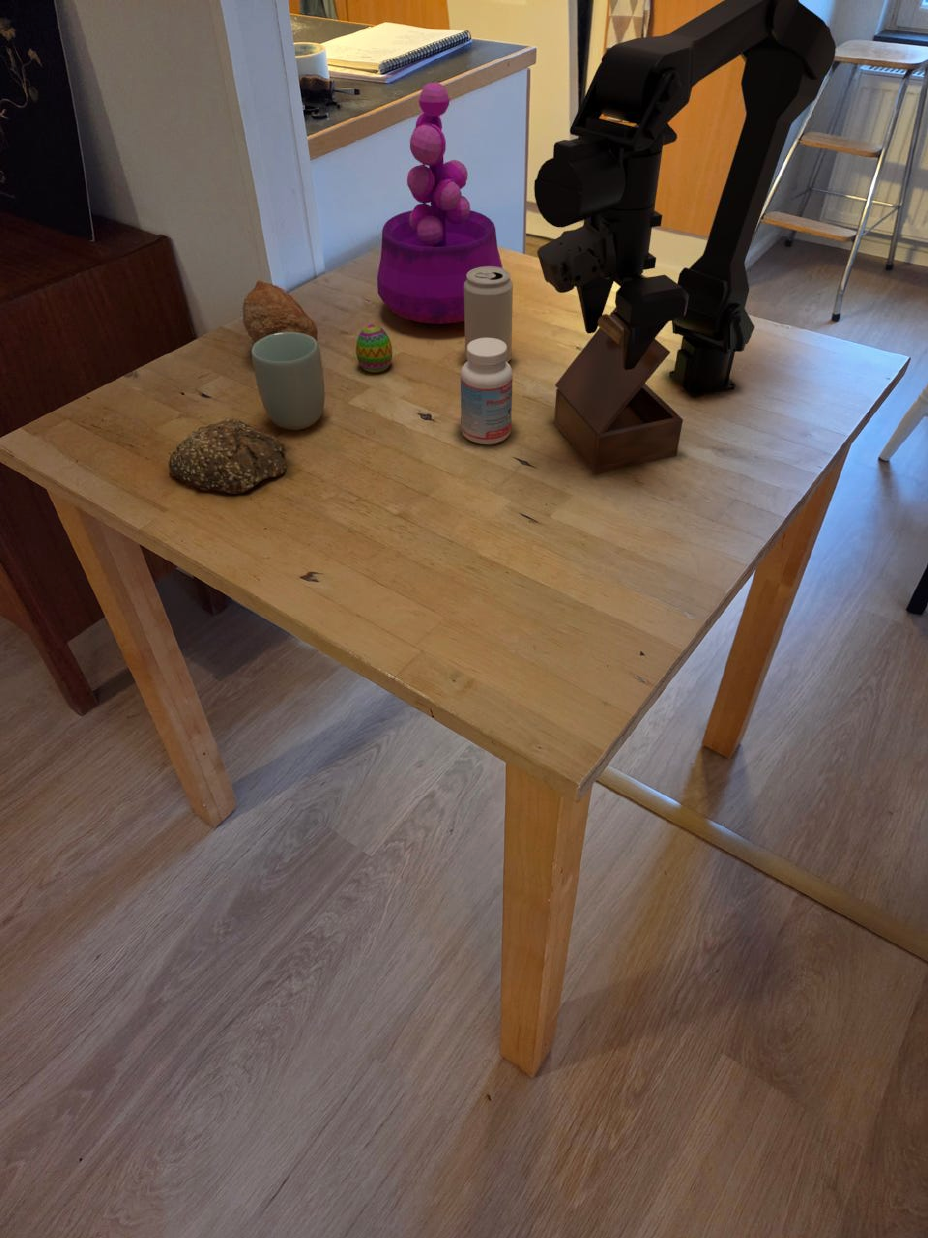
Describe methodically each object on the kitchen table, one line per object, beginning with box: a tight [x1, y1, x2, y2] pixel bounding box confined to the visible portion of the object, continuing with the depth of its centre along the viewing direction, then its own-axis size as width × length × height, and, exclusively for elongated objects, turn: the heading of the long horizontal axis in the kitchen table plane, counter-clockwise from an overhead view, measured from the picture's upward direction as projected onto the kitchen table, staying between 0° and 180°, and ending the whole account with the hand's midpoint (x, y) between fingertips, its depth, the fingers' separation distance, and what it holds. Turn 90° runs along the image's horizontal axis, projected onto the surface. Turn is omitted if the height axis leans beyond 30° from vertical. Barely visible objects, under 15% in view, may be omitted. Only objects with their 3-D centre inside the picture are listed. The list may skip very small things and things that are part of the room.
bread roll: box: [168, 417, 287, 495], centre depth 98 cm, size 13×12×5 cm
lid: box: [554, 306, 671, 436], centre depth 94 cm, size 11×12×4 cm
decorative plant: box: [376, 82, 503, 325], centre depth 118 cm, size 19×18×30 cm
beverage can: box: [463, 266, 514, 363], centre depth 113 cm, size 6×6×12 cm
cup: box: [250, 332, 326, 431], centre depth 103 cm, size 8×8×10 cm
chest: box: [553, 383, 684, 474], centre depth 101 cm, size 11×12×5 cm
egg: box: [355, 323, 393, 374], centre depth 114 cm, size 5×5×6 cm
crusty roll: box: [242, 279, 318, 344], centre depth 115 cm, size 10×13×10 cm
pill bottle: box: [460, 338, 514, 445], centre depth 100 cm, size 6×6×11 cm
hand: (609, 350), depth 93 cm, fingers open, 9 cm apart
